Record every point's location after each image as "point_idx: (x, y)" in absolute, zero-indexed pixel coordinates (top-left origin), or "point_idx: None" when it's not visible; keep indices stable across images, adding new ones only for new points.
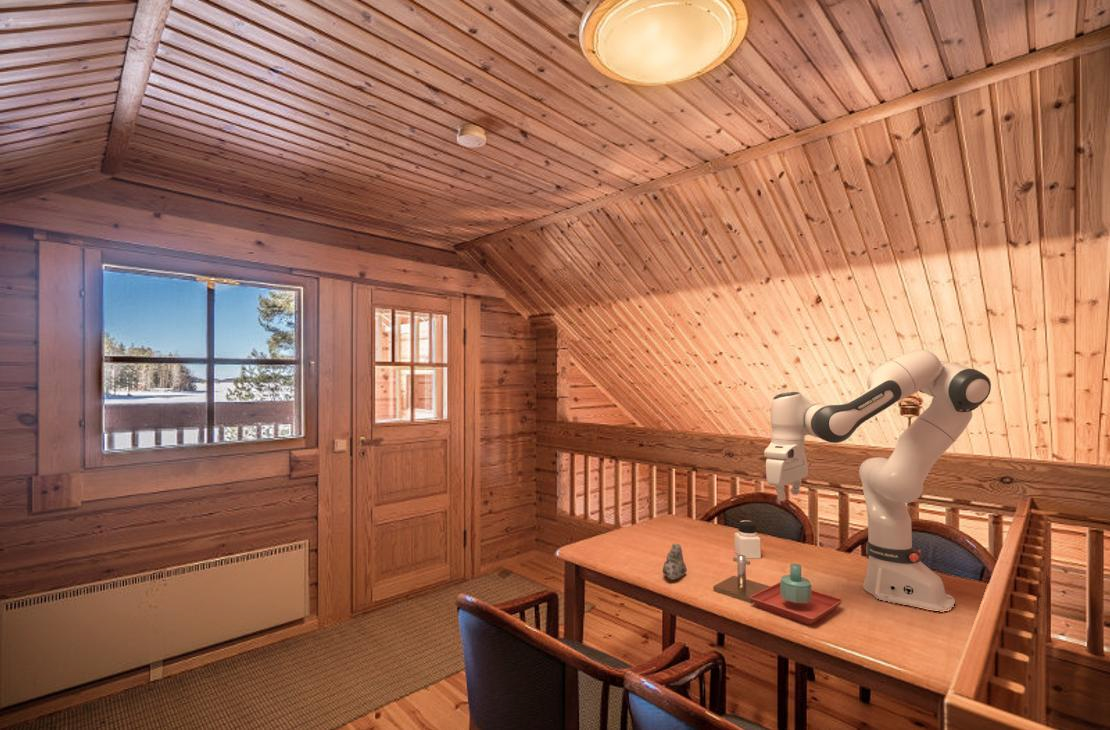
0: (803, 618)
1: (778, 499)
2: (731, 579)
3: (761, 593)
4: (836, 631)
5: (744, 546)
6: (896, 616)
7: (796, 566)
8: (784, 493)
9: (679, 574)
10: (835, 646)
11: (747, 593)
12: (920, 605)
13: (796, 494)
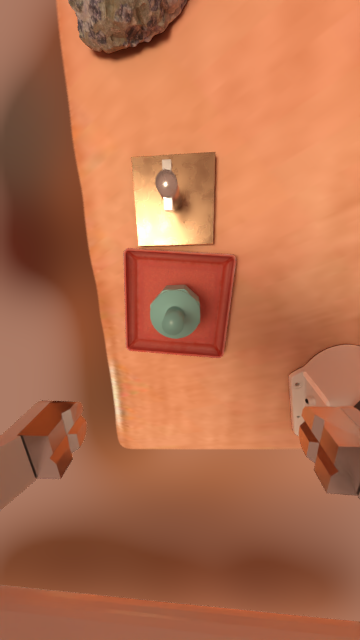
0: (129, 336)
1: (43, 403)
2: (191, 163)
3: (160, 253)
4: (148, 364)
5: None
6: (246, 399)
7: (168, 327)
8: (25, 486)
9: (114, 44)
10: (112, 374)
11: (151, 230)
12: (293, 418)
13: (301, 437)
